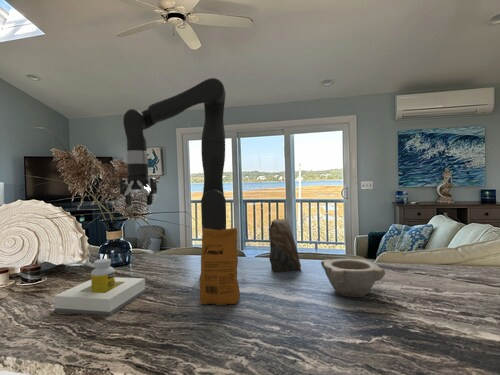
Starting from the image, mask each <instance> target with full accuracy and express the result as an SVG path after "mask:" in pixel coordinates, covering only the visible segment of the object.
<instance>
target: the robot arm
mask: <svg viewBox="0 0 500 375" xmlns="http://www.w3.org/2000/svg"><path fill="white" fill-rule="evenodd" d="M226 95H227V94H226V90H225V86H224V84H223V82H222V81H221V80H220V79H218V78H216V77H209V78H207V79H204V80H203V81H201V82H199V83H197V84H196V85H194V86H192V87H191V88H189V89H186V90H184V91H183V92H180V93H178V94H176V95H173V96H171V97H168V98H165V99H163V100H160V101H157V102H155V103H152V104H150V105H149V106H148V109H145V110H143V111H139V110H137V109H135V108H131V109H128V110H127V111H126V112H125V113H124V115H123V118H122V119H123V129H124V132H125V136H126V147H127V148H126V149H127V150H126V151H127V154H126V169H127V170H126V171H127V172H126V173H127V176H128V177H127V178H121V179H119V180H120V181H119V194H120V195H124V198H125V199H124V200H125V205H126V206H127V207H128V206H132V194H133V192H134V191H135V190H138V191H139V190H142V191H143V192H144V193H145V194H146V205H147V206H152V204H153V195H155V194H157V193H158V187H157V186H158V185H157V178H156V177H150V178H149V161H148V160H149V159H148V152H147V148H148V146H147V139H146V137H145V135H144V131H145V130H147V129H149V128H152V127H153V126H155V125H156V124H158V123H160V122H163V121H166V120H168V119H171V118H173V117H176V116H178V115H180V114H181V113H183V112H185V111H186V110H188V109H189V108H191V107H194V106H197V105H200V104H203V105H204V124H203V129H202V134H201V146H200V147H201V164H202V170H203V171H202V172H203V188H202V190H203V191H202V197H201V200H200V211H201V212H200V213H201V215H200V216H201V233H202V235H203V229H204V228H205V229H212V230H224V229H227V203H226V202H227V201H226V197H225V193H224V184H223V183H224V181H223V177H224V176H223V175H224V169H225V161H226V131H225V124H224V113H225V102H226ZM148 184H149V185H148ZM202 235H201V236H202Z"/></svg>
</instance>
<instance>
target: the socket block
mask: <svg viewBox="0 0 500 375" xmlns="http://www.w3.org/2000/svg"><path fill="white" fill-rule="evenodd" d="M114 278H115V288H113V289H112V290H110V291H108V292H106V293H93V292H92V282H91V279H89V280H87V281H84V282H83V283H80V284H78V285H76V286H74V287H71V288H69V289H66V290H64V291H62V292H60V293H57V294H55V295H54V296H53V298H54V299H53V300H54V301H53V303H54V304H53V305H54V306H53V307H54V313H55V312H58V313H72V314H86V315H99V316H101V315H102V316H111V315H113V314H114V313H115V312H117V311H119V310H120V309H122V308H123V307H125V306H126V305H128V304H129V303H131V302H133V301H134V300H136V299H137V298H139V297H140V296H142V295H143V294H144V293H146V278H138V277H118V276H117V277H115V276H114Z"/></svg>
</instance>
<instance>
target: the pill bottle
mask: <svg viewBox="0 0 500 375" xmlns="http://www.w3.org/2000/svg"><path fill="white" fill-rule="evenodd" d="M111 260H112V259H111V258H99V259H96V260H94V262H93V266H94V268H93V269H92V270H91V273H90V278H91V279H90V280H91V282H92V292H93V293H106V292H108V291H110V290H112V289H113V288H115V278H114V277H115V269H114V267H113V266H111V264H112V261H111Z"/></svg>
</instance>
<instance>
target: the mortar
mask: <svg viewBox="0 0 500 375" xmlns="http://www.w3.org/2000/svg"><path fill="white" fill-rule="evenodd" d="M320 265H321V266H322V268H323V270H324V272H325V275H326V276H327V279H328V281H329V283H330V285H331V286H332V288H333V290H334V291H335V292H336V293H337V294H338V295H340V296H344V297H348V298H349V297H350V298H361V297H365V296H367V294H369V292H370V291H371V289H372V288H373V287H374V285H375V283H376V282H377V281H381V280H382V279H383V278H384V277H385V275H386V271H385V270H384V268H382V267H380V265H378V264H376V263H374V262H373V261H369V260H368V259H364V258H336V259H335V258H334V259H330V258H329V259H322V260H321V261H320Z"/></svg>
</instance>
